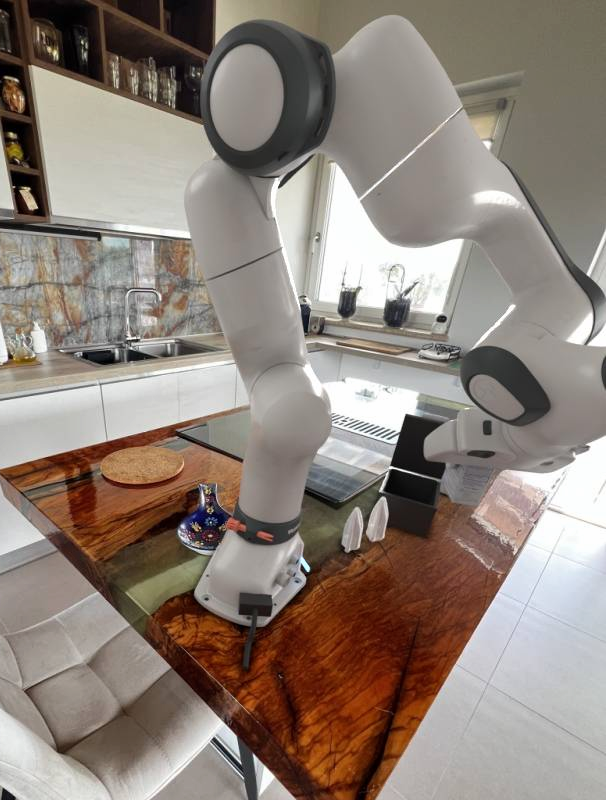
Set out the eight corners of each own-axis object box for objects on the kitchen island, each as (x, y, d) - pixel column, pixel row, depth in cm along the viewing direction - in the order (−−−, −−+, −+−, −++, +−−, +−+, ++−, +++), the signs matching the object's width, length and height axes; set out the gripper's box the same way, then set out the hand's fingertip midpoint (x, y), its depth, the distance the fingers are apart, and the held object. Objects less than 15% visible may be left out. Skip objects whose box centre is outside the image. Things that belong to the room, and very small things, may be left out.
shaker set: (376, 531, 95) (390, 489, 89) (389, 541, 92) (404, 499, 86) (334, 541, 90) (346, 498, 84) (346, 553, 87) (359, 509, 81)
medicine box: (477, 508, 69) (500, 461, 65) (450, 503, 70) (470, 457, 65) (464, 486, 76) (484, 442, 71) (439, 481, 76) (457, 438, 72)
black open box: (425, 537, 94) (437, 508, 90) (370, 519, 99) (378, 491, 95) (430, 506, 106) (441, 480, 102) (381, 492, 111) (389, 466, 107)
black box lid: (465, 428, 89) (468, 416, 92) (405, 415, 94) (409, 403, 96) (441, 480, 102) (445, 467, 104) (389, 465, 106) (394, 454, 109)
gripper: (597, 422, 58) (527, 456, 71) (451, 406, 58) (409, 442, 72) (602, 465, 56) (529, 491, 70) (452, 448, 57) (408, 477, 70)
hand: (467, 466), depth 71 cm, fingers closed on medicine box, 5 cm apart
